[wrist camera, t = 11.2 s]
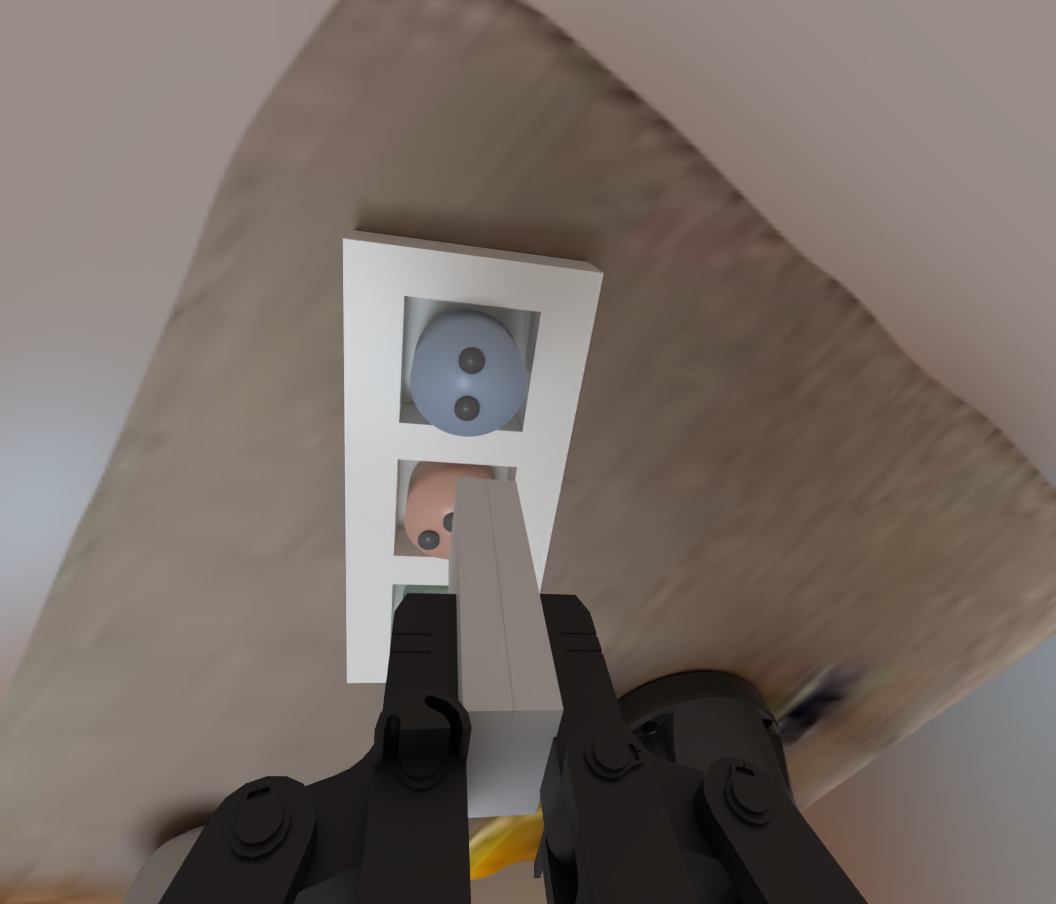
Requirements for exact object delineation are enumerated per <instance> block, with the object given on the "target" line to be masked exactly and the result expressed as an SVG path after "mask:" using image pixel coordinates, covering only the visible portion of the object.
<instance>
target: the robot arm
mask: <svg viewBox="0 0 1056 904" xmlns="http://www.w3.org/2000/svg"><path fill="white" fill-rule="evenodd" d="M601 651H602V650H601V646H600V643H599V640H598V637H596V630H595V627H594V624H593V621H592V617H591V614H590V612H589V611H588V610H587V608H586V607H585V606H584V605H583V604H582V602H581V601H580V600H579V599H578V597H577V596H576V595H561V594H539V589H538V584H537V580H536V575H535V570H534V565H533V560H532V556H531V551H530V546H529V541H528V536H527V531H526V527H525V522H524V517H523V512H522V507H521V503H520V498H519V493H518V488H517V483H516V481H507V480H490V479H473V478H457V482H456V492H455V502H454V512H453V523H452V533H451V543H450V553H449V563H448V594H439V593H407V594H406V595H405V597H404V598H403V600H402V601H401V603H400V604H399V606H398V607H397V608H396V610H395V611H394V620H393V628H392V637H391V645H390V655H389V662H388V670H387V679H386V687H385V696H384V704H383V711H382V712H381V713H380V716H379V719H378V722H377V725H376V728H375V736H374V745H373V746H372V748H371V749H370V751H369V752H368V753H367V754H366V755H365V756H364V757H363V759H362V760H360V761H359V762H358V763H356V764H355V765H354V766H352V767H351V768H350V769H348V770H345V771H343V772H341V773H339V774H337V775H335V776H332V777H329V778H327V779H324V780H321V781H318V782H316V783H313V784H310V785H307V786H304V784H303V783H301V782H298V781H296V780H294V779H292V778H289V777H287V776H266V777H263V778H261V779H258V780H255V781H252V782H249V783H246V784H245V785H243V786H242V787H240V788H239V789H237V790H236V791H235V792H233V793H232V794H230V795H229V796H228V797H226V798H225V800H224V801H223V802H222V803H221V804H220V806H219V807H218V808H217V809H216V811H215V812H214V813H213V814H212V815H211V817H210V818H209V820H208V822H207V823H206V825H205V827H204V828H203V830H202V832H201V833H200V835H199V837H198V838H197V840H196V842H195V843H194V845H193V847H192V848H191V850H190V852H189V853H188V855H187V857H186V858H185V860H184V862H183V863H182V865H181V867H180V868H179V870H178V872H177V873H176V875H175V877H174V878H173V880H172V882H171V883H170V885H169V887H168V888H167V890H166V892H165V893H164V895H163V897H162V898H161V900H160V902H159V903H158V904H471V893H470V860H469V829H468V818H477V817H496V816H515V815H533V814H536V812H537V809H538V805H539V801H540V798H541V805H542V812H543V819H544V826H545V827H544V830H543V834H542V837H541V841H540V845H539V848H538V852H537V855H536V859H535V863H534V878H540V877H541V873H542V870H543V874H544V882H545V890H546V897H547V904H868V903H867V902H866V900H865V899H864V898H863V896H862V895H861V894H860V892H859V891H858V890H857V888H856V887H855V886H854V885H853V883H852V882H851V880H850V879H849V878H848V877H847V875H846V874H845V873H844V871H843V870H842V868H841V867H840V866H839V864H838V863H837V862H836V860H835V859H834V858H833V856H832V855H831V854H830V852H829V851H828V850H827V848H826V847H825V846H824V844H823V843H822V842H821V840H820V839H819V838H818V836H817V835H816V834H815V832H814V831H813V830H812V828H811V827H810V826H809V824H808V823H807V822H806V820H805V819H804V818H803V816H802V815H801V814H800V812H799V810H798V808H797V806H796V803H795V800H794V796H793V792H792V787H791V782H790V778H789V773H788V769H787V764H786V760H785V755H784V751H783V746H782V741H781V737H780V733H779V728H778V725H777V723H776V720H775V718H774V716H773V714H772V712H771V711H770V709H769V707H768V706H767V704H766V702H765V700H764V699H763V697H762V695H761V694H760V692H759V691H758V690H757V689H756V688H755V687H754V686H753V685H751V684H750V683H749V682H747V681H745V680H743V679H741V678H739V677H736V676H733V675H729V674H725V673H718V672H693V673H685V674H679V675H675V676H671V677H667V678H664V679H661V680H658V681H655V682H652V683H650V684H648V685H646V686H643V687H641V688H639V689H637V690H636V691H634V692H632V693H630V694H629V695H627V696H626V697H624V698H623V699H622V700H620V701H619V702H618V701H617V698H616V695H615V692H614V688H613V685H612V682H611V679H610V675H609V672H608V669H607V666H606V662H605V659H604V656H603V654H602V653H601Z"/></svg>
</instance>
